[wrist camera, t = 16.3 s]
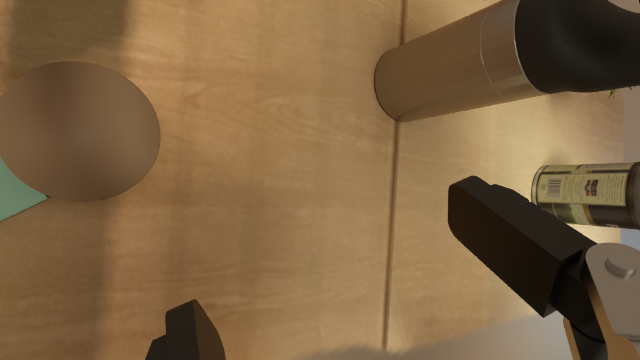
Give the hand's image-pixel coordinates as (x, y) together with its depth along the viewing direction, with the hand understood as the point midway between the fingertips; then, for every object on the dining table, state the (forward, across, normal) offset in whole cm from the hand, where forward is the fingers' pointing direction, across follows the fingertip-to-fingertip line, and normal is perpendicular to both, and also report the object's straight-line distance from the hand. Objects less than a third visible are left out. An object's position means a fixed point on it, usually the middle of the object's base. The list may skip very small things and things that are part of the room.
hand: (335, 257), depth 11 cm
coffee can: (+28, -47, +40) cm, 68 cm away
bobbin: (+23, +12, +3) cm, 26 cm away
